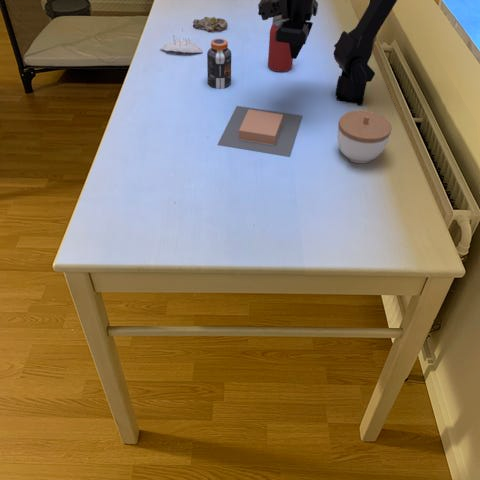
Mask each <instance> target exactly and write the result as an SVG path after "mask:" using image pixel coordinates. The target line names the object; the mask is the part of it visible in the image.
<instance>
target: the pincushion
mask: <svg viewBox="0 0 480 480" xmlns="http://www.w3.org/2000/svg"><path fill="white" fill-rule="evenodd" d="M181 30H182V31H184V30H183V28H182V29H181ZM172 35H173V34H172ZM173 37H175V35H173ZM160 50H163V51H165V52H174V53H175V54H177V52H180V53H179V54H182V53H185V54H186V55H187V54H188V53H191V54H194V53H197V54H198V53H204V51H203V49H202V48H201V47H200V46H199V45H198V44H197V43H196V42H193V41H191V40H189V39H174V40H172V41H169V42H167V43H165V44H164V45H163V46H161V47H160Z"/></svg>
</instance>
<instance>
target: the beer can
mask: <svg viewBox="0 0 480 480" xmlns="http://www.w3.org/2000/svg"><path fill="white" fill-rule="evenodd" d="M286 20H288V19H281V18H279V19H275V20H274V21H273V20H272V23H273V24H271V25H270V30H269V40H268V41H269V42H268V57H267V67H268V68H269V69H270V70H272V71H274V72H276V73H277V72H278V73H284V72H288V71H290V70H291V69H292V68H293V61H294V59H292V58H291V53H290V47H289V43H283V42H277V41H276V40H275V37H276V30H277V28H278V26H279V25H280V24H281V23H282V22H283V21H286Z"/></svg>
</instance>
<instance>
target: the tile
mask: <svg viewBox="0 0 480 480" xmlns="http://www.w3.org/2000/svg"><path fill="white" fill-rule="evenodd" d="M282 121H283V115H282V114H276V113H269V112H263V111H256V110H250V109H249V110H248V112H247V114H246V116H245V118H244V121H243V123H242V125H241V127H240V129H239V140H243V141H249V142H256V143H262V144H268V145H275V143H276V140H277V137H278V134H279V131H280V129H281V126H282Z"/></svg>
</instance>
